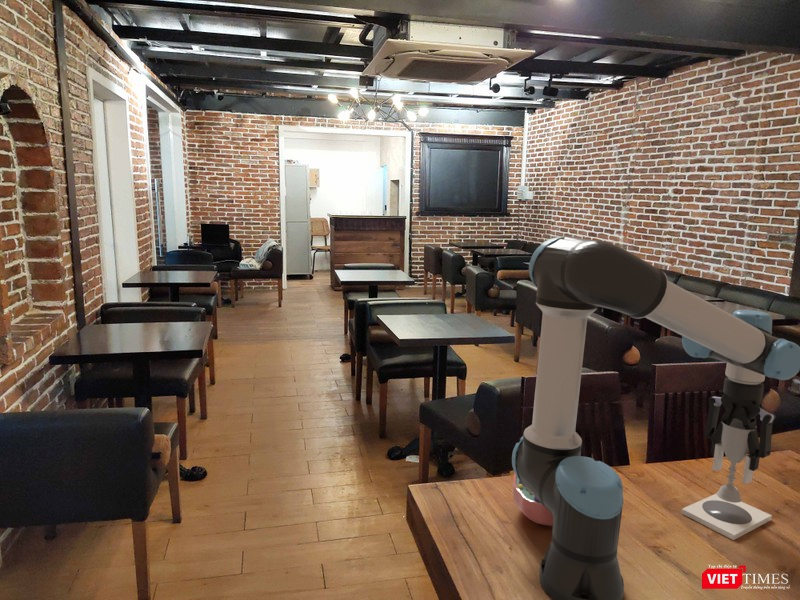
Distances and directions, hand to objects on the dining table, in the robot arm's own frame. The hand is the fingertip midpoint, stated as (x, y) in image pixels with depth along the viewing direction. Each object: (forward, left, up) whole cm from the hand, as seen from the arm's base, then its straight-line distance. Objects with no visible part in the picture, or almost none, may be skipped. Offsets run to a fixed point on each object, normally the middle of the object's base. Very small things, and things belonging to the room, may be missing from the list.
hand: (731, 475), depth 127 cm
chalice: (0, 0, -6) cm, 6 cm away
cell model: (-37, +21, -11) cm, 44 cm away
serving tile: (0, 0, -10) cm, 10 cm away
